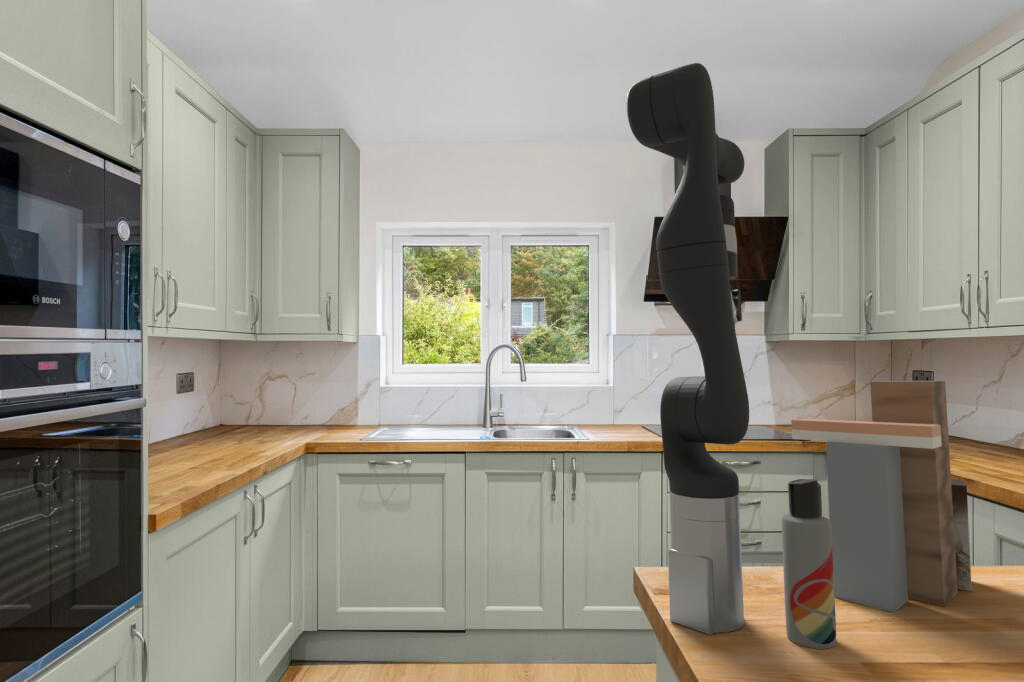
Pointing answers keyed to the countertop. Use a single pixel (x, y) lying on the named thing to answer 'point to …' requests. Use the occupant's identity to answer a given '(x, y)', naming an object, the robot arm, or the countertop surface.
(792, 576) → the lotion bottle
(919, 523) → the walnut stand
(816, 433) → the bar
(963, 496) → the coffee box
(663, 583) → the countertop surface
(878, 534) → the grey stand
